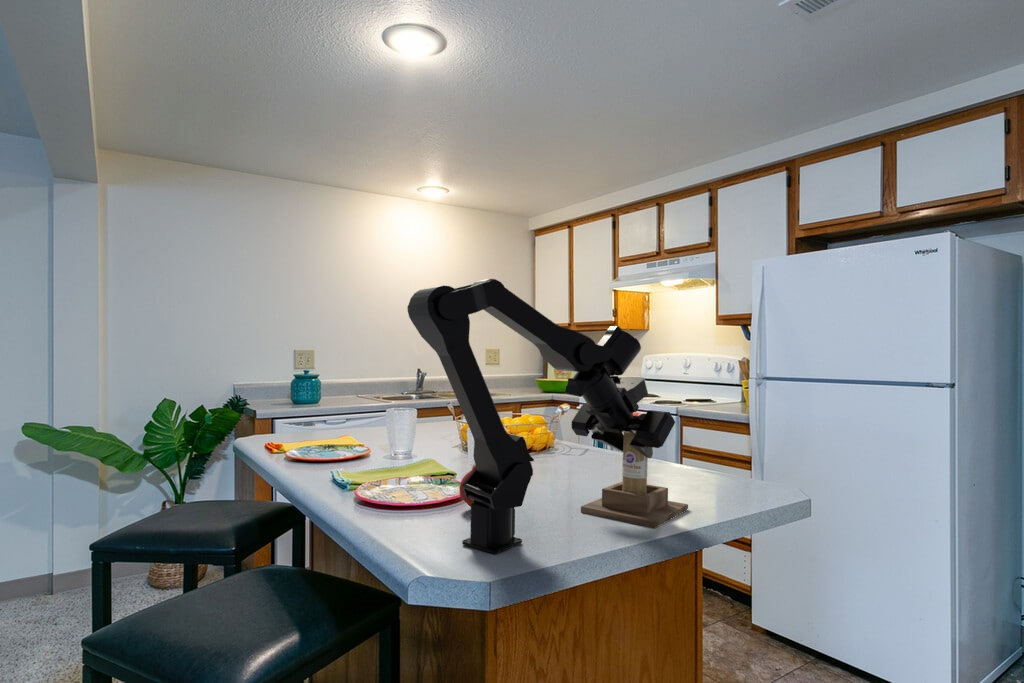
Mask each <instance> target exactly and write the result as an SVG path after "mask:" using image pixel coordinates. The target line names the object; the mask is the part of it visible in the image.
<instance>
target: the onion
mask: <svg viewBox="0 0 1024 683" xmlns="http://www.w3.org/2000/svg"><path fill="white" fill-rule="evenodd" d="M475 468H476V465H475V463H474V464H473V465H472V468H471V470H470V471H468V472H467V473H466V474H465V475H464V476H463V477H462V478H461V480H460V483H459V487H458V488H459V495H460V497H461V499H462V500H463V501H464V502H465V504H466V505H468V506H469V508H471V504H472V503H473V502H474V500H472V499H470V498H466V497H465V494H464V491H463V488H462V484H463V483H464V482H465V481H466V479H467V478H468V477H469V476H470V474H471V473H472V472H473V471H474V470H475Z"/></svg>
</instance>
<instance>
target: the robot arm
mask: <svg viewBox="0 0 1024 683" xmlns="http://www.w3.org/2000/svg"><path fill="white" fill-rule="evenodd" d="M481 311H485V312H486V313H487V314H489V315H491V316H492V317H493V318H495V319H497V320H498V321H500V322H501V323H502V324H504V325H505V326H507V327H508V328H509V329H511V330H513V331H514V332H515V333H517V334H519V335H520V336H521V337H522V338H524V339H526V340H527V341H528V342H530V343H532V344H533V345H534V346H535V347H536V348H537V350H538V351H539V353H540V355H541V357H542V358H543V359H544V360H545V361H546V362H547V363H548V364H549V365H550V366H551V367H552V368H553V369H555V370H557V371H562V372H563V371H564V372H576V373H575V374H574V376H573V377H572V378H571V377H570V378H568V379H567V383H566V386H565V389H564V392H565V395H570V396H573V397H579V398H580V397H582V398H583V400H584V401H585V403H584V402H583V404H582V405H581V406H580V408H579V410H578V411H577V412H576V414H575V416H574V417H573V419H572V420H571V430H572V431H573V433H574V434H575V435H576V436H580V437H588V435H589V434H590V433H592V434H591V437H590V438H591V439H592V440H595V441H598V442H599V443H601V444H604V445H607V446H608V447H610V448H613V449H615V450H617V451H619V452H621V453H623V442H624V432H627V433H631V432H632V431H633V432H634V433H635V434H634V438H633V439H632V441H631V443H630V445H631V446H632V447H633V448H635V449H636V450H637V451H639V452H640V453H642V454H643V455H644V456H646V457H647V458H648V459H651V458H652V457H653V453H654V451H653V449H654V448H655V449H659V448H661V447H663V446H664V444H665V443H666V441H667V438H668V437H669V434H670V433H671V431H672V430H673V427H674V426H675V424H676V421H675V419H674V417H673V415H672V414H671V412H670V411H666V410H664V411H663V410H654V409H651V410H647V411H646V413H640V414H639V415H634V413H637V412H638V410H639V408H640V406H639V404H638V403H639V402H640V401H642V400H643V399H644V398H647V397H648V396H649V392H648V389H647V385H646V381H645V378H644V377H642V376H641V377H639V376H637V377H636V376H625V377H619V376H622V375H623V374H624V373H625V372H626V370H628V368H629V366H630V365H631V364H632V362H633V361H634V360H635V358H636V357H637V356H638V355H639V353H640V352H641V350H642V346H641V343H640V341H639V339H637V338H636V337H634V336H633V335H632V334H630V333H629V332H627V331H624V330H622V328H621V327H620V326H619V325H611V326H609V327H608V328H607V330H606V331H605V333H604V335H603V336H602V337H601V339H600V340H599V341H598V343H597V344H596V342H595V340H594V339H593V338H592V337H590V336H588V335H586V334H583V333H582V332H579V331H576V330H575V329H571V328H567V327H564V326H561V325H559V324H556V322H554V321H552V320H551V319H549V318H548V317H547V316H545V315H544V314H543V313H541V312H540V311H538V310H537V309H535V308H534V307H533V306H531V305H530V304H529V303H527V302H526V301H524V300H523V299H522V298H520V297H519V296H518V295H516V294H515V293H514V292H512V291H511V290H510V289H508V288H507V287H505V285H504V284H503V283H502V282H501V281H500V280H497V279H495V278H486V279H483V280H477V281H475V282H473V283H470V284H467V285H463V286H459V287H452V286H451V285H439V286H434V287H428V288H424V289H420V290H418V291H416V292H414V293H413V295H412V296H411V297H410V300H409V302H408V305H407V313H408V317H409V319H410V321H411V323H412V324H413V326H414V327H415V328H416V329H415V330H417V332H418V333H419V335H420V337H421V338H422V339H423V340H424V341H425V342H426V343H427V344H428V345H429V346H430V347H431V348H432V349H433V350H434V351H435V352H436V354H437V356H438V358H439V360H440V362H441V365H442V367H443V368H442V369H444V372H445V374H446V376H447V379H448V381H449V384H450V386H451V388H452V390H453V393H454V395H455V398H456V400H457V403H458V405H459V406H460V409H461V412H462V413H463V414H462V415H463V417H464V419H465V421H466V424H467V426H468V428H469V431H470V433H471V435H472V438H473V441H474V442H473V460H474V464H475V465H476V468H475V470H474V471H473V472H472V473H471V474H470V476H469V477H468V478H467V479H466V481H465V482H464V483H463V484H462V488H463V491H464V494H465V497H466V498H470V499H472V500H474V502H473V503H472V504H471V507H470V537H468V538H465V539H463V540H462V545H463V546H466V547H471V548H474V549H477V550H481V551H484V552H488V553H492V554H498V553H501V552H503V551H505V550H507V549H510V548H513V547H515V546H518V545H520V544H522V543H523V539H522V538H520V537H516V536H515V535H516V509H515V508H519V507H522V506H523V503H524V500H525V496H526V494H527V489H528V487H529V484H530V482H531V479H532V477H533V475H534V468H533V464H532V462H534V461H535V459H534V458H533V457H532V456H531V455H530V453H529V450H528V446H527V441H526V440H525V438H524V436H521V435H516V434H514V433H513V434H512V433H509V432H507V430H506V428H505V427H504V424H503V422H502V419H501V416H500V414H499V413H498V410H497V406H496V404H495V402H494V400H493V398H492V396H491V392H490V390H489V387H488V385H487V382H486V380H485V378H484V375H483V373H482V371H481V370H482V369H481V368H480V366H479V364H478V360H477V358H476V356H475V354H474V351H473V349H472V346H471V344H470V331H471V330H470V329H471V328H470V327H471V321H470V316H469V315H472V314H476V313H478V312H481ZM590 431H591V432H590Z"/></svg>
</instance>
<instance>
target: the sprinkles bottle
mask: <svg viewBox="0 0 1024 683" xmlns="http://www.w3.org/2000/svg"><path fill="white" fill-rule="evenodd" d="M634 434H635V433H634V432H633V431H632V432H631V433H627V432H623V435H624V442H623V452H622V467H621V468H622V469H621V470H622V471H621V473H622V474H621V475H622V481H621V482H622V491H624V492H630V493H635V494H641V495H646V494H647V485H648V459H649V458H647V457H646V456H644V455H643V454H642V453H640V452H639V451H637V450H636V449H635V448H633V447H632V446H631V445H630V443H631V441H632V439H633V438H634Z"/></svg>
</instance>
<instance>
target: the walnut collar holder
mask: <svg viewBox="0 0 1024 683" xmlns="http://www.w3.org/2000/svg"><path fill="white" fill-rule="evenodd" d="M622 482H623V481H619V482H617V483H615V484H612V485H608V486H607V487H604V488H602V489H601V498H597V499H596V500H593V501H591V502H588V503H586V504H583V505H580V512H581V513H584V514H588V515H594V516H597V517H602V518H606V519H611V520H616V521H621V522H624V521H625V522H626V523H629V522H630V524H635V525H638V524H639V526H644V527H648V528H652V527H654V528H653V529H656V528H658V527H659V525H660V526H661V524H662V525H664V524H665V523H666V521H667V522H669V521H671V520H672V519H674V518H676V517H678V516H680V515H681V514H680V513H682V512H683V513H685V512H687V511H688V510H689V504H688V503H683V502H677V501H671V500H669V487H665V486H658V485H652V484H647V494H646V495H641V494H635V493H630V492H624V491H622ZM687 509H688V510H687ZM686 510H687V511H686ZM684 511H685V512H684ZM683 513H682V514H683ZM679 514H680V515H679ZM677 515H678V516H677ZM675 516H676V517H675ZM673 517H674V518H673ZM671 518H672V519H671ZM670 519H671V520H670ZM668 520H669V521H668ZM664 522H665V523H664ZM657 526H658V527H657ZM655 527H656V528H655Z"/></svg>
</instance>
